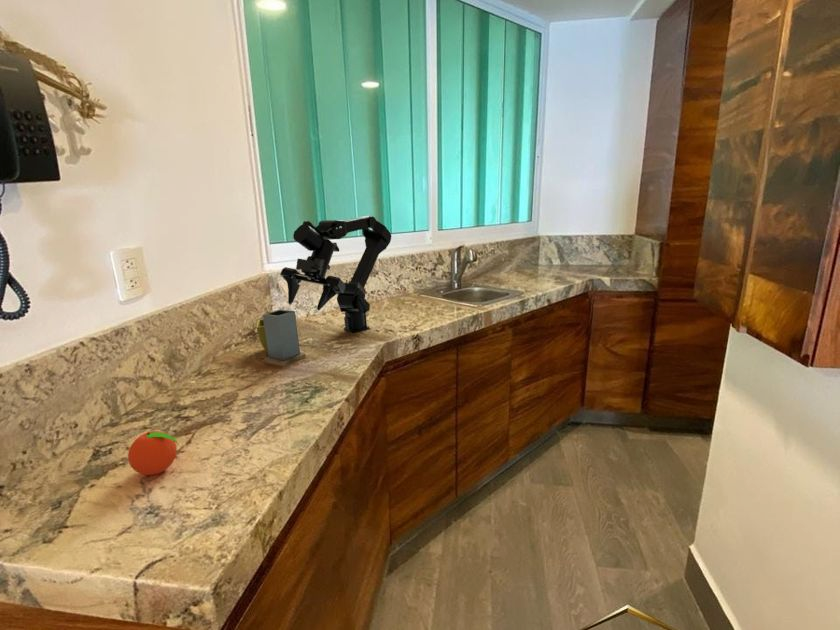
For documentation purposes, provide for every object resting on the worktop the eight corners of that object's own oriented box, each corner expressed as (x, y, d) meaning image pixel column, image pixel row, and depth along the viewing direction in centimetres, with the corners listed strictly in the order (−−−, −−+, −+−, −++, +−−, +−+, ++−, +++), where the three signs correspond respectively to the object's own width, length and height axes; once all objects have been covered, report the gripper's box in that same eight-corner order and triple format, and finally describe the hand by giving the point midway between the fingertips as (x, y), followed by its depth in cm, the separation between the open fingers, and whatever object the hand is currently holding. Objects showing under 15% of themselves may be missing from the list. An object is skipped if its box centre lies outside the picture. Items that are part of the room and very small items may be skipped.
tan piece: (286, 353, 130) (284, 336, 129) (305, 357, 126) (303, 340, 125) (264, 362, 124) (261, 345, 122) (284, 366, 119) (281, 348, 118)
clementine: (194, 457, 78) (186, 421, 76) (174, 482, 71) (165, 442, 69) (147, 460, 78) (139, 423, 76) (123, 485, 71) (113, 445, 69)
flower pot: (260, 356, 128) (255, 326, 126) (262, 347, 136) (258, 319, 134) (291, 352, 130) (288, 323, 128) (292, 344, 139) (288, 316, 136)
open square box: (285, 351, 129) (279, 309, 125) (300, 354, 125) (294, 311, 122) (268, 358, 124) (262, 314, 120) (283, 361, 121) (277, 316, 117)
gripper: (280, 240, 128) (261, 291, 123) (339, 251, 123) (322, 303, 119) (297, 257, 138) (280, 304, 134) (352, 267, 133) (336, 316, 129)
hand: (303, 306), depth 129 cm, fingers open, 9 cm apart
